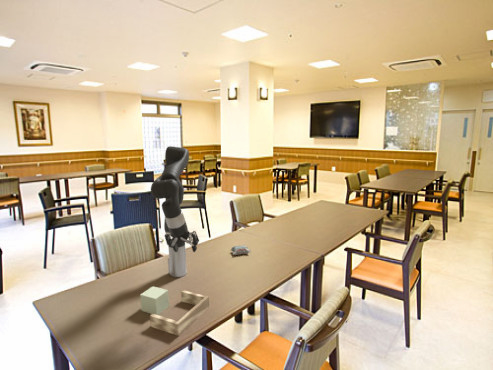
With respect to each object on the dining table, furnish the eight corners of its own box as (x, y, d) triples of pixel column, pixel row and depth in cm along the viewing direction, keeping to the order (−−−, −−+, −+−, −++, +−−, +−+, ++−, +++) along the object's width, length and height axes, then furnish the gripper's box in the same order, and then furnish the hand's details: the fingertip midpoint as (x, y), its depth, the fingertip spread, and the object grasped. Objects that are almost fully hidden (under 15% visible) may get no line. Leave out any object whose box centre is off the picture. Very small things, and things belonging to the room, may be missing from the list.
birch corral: (150, 326, 121) (149, 315, 120) (183, 299, 141) (183, 290, 140) (179, 336, 115) (178, 324, 114) (209, 306, 135) (208, 296, 134)
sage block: (141, 310, 133) (140, 294, 131) (154, 301, 140) (152, 286, 138) (157, 315, 129) (155, 298, 128) (169, 306, 136) (168, 290, 135)
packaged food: (250, 255, 193) (250, 247, 192) (233, 257, 190) (232, 249, 189) (247, 250, 201) (247, 243, 201) (230, 252, 198) (230, 245, 198)
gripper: (194, 216, 125) (203, 245, 133) (164, 217, 128) (174, 245, 136) (189, 227, 119) (198, 256, 127) (157, 228, 122) (168, 256, 130)
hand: (185, 250), depth 132 cm, fingers open, 8 cm apart
